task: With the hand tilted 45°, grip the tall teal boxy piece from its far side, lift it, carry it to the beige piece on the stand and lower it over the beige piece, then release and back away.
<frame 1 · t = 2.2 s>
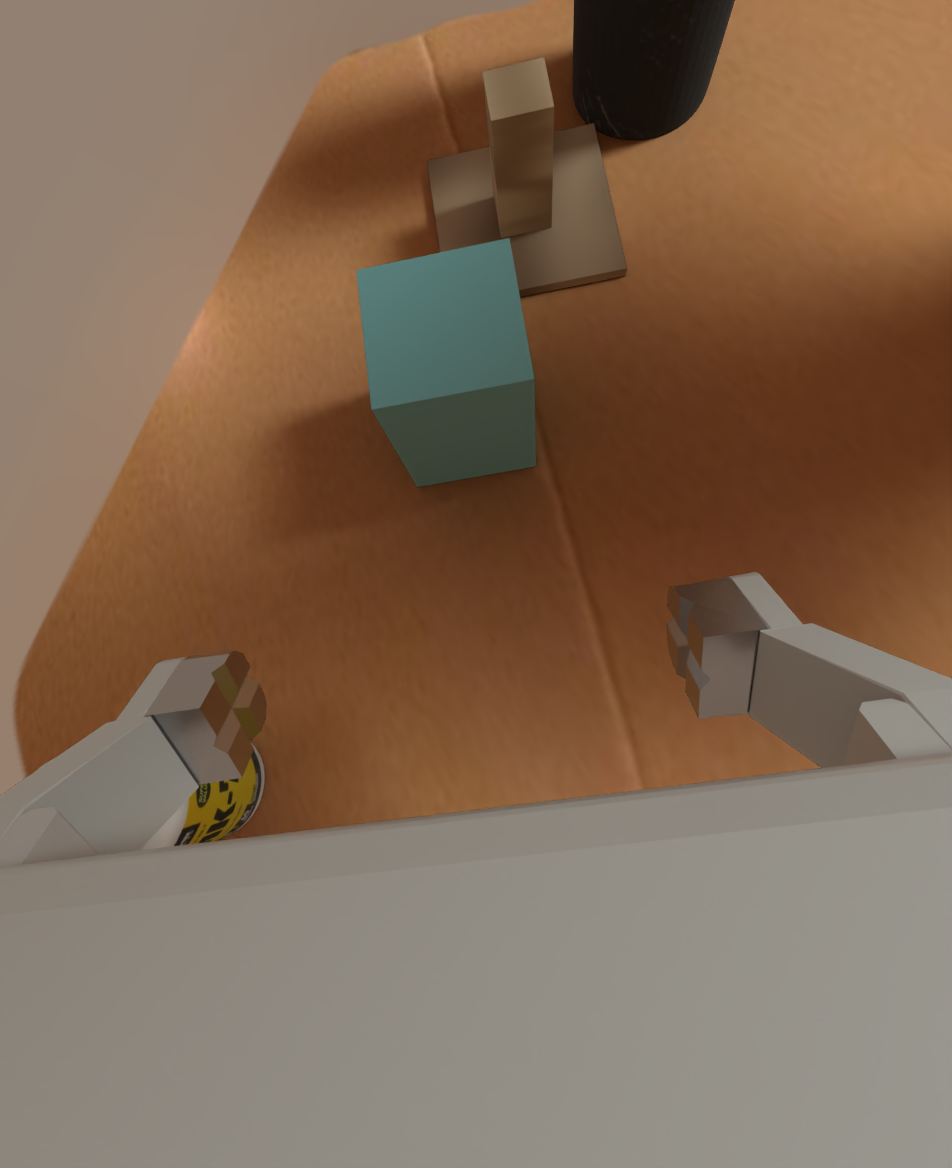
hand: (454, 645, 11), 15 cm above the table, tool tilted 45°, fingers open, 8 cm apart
travel mug: (638, 90, 30), on the table
beige piece: (522, 220, 29), on the table
teal boxy piece: (468, 422, 27), on the table
supplement bottle: (221, 780, 26), on the table
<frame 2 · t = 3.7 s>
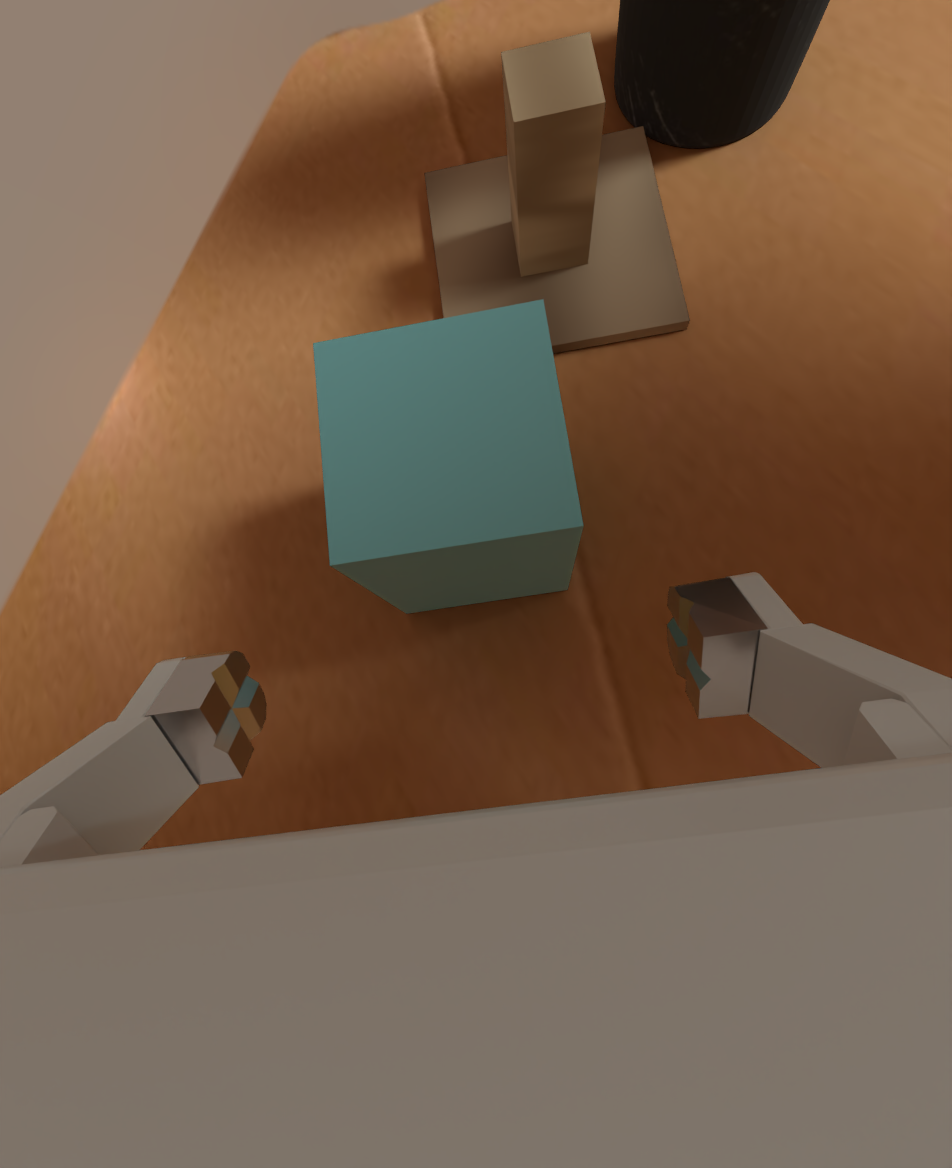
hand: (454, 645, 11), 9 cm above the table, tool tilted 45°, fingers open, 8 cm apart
travel mug: (699, 84, 23), on the table
beige piece: (548, 252, 22), on the table
teal boxy piece: (475, 524, 20), on the table
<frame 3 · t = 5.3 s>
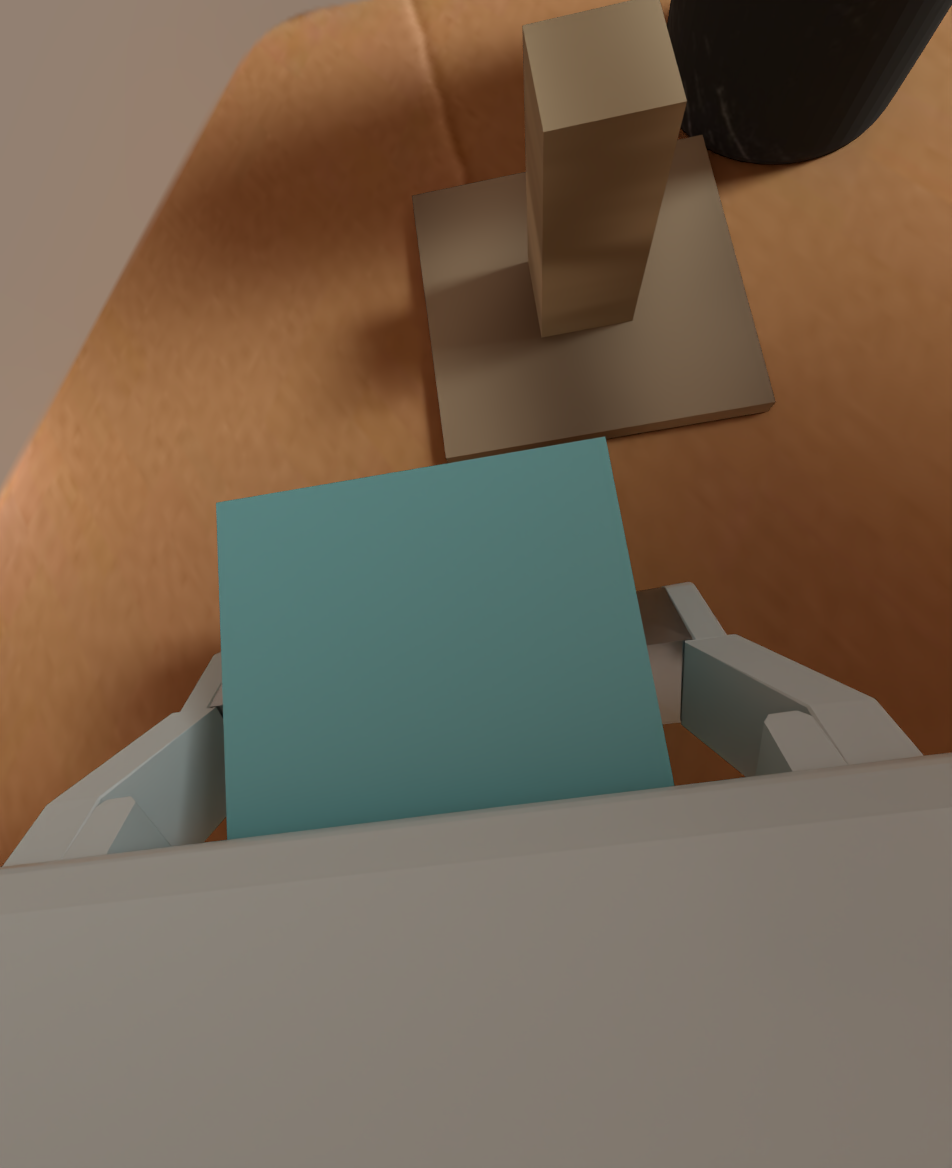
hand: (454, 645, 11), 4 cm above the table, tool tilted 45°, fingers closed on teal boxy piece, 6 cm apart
travel mug: (772, 79, 18), on the table
beige piece: (577, 302, 17), on the table
teal boxy piece: (482, 684, 15), on the table, touching gripper
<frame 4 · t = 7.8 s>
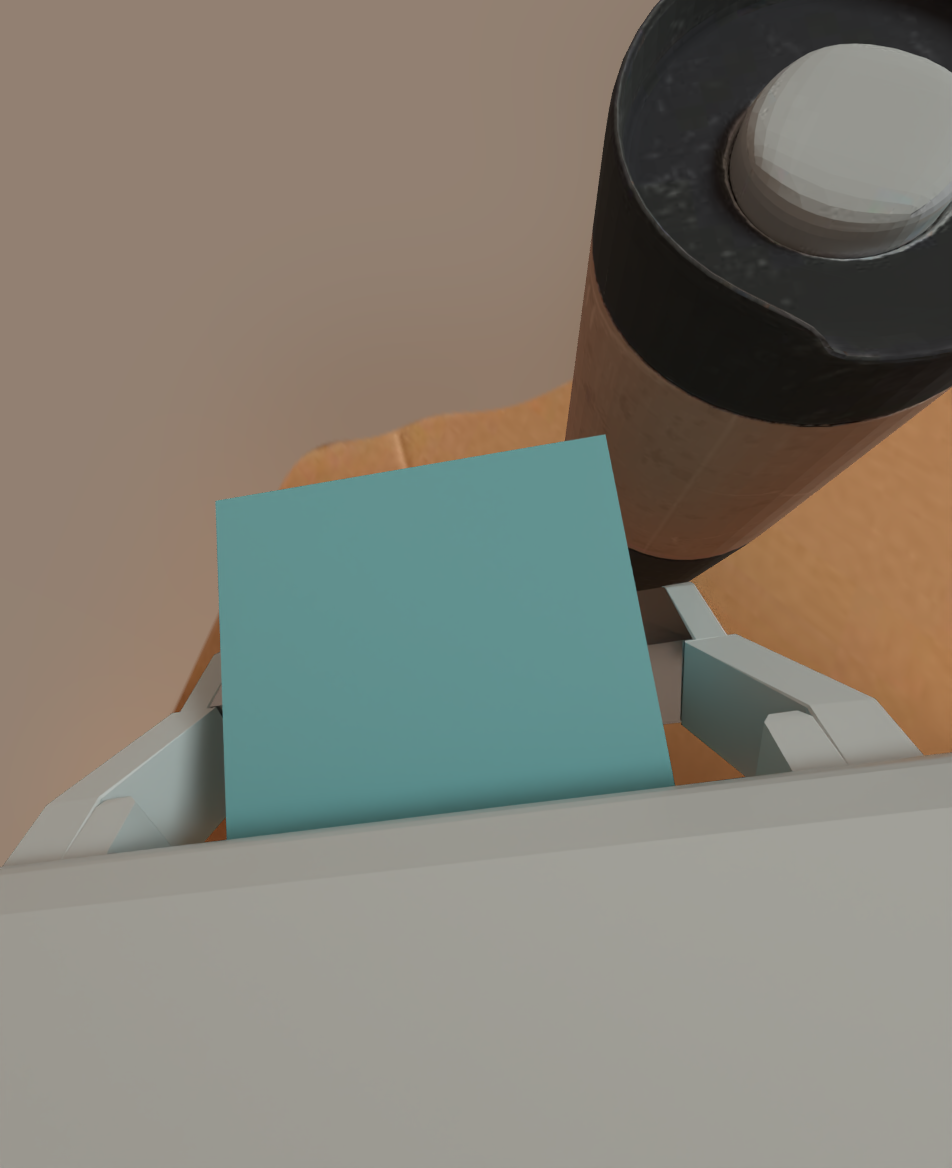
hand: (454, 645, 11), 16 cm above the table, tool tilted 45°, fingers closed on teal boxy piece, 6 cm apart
travel mug: (634, 528, 27), on the table
teal boxy piece: (481, 683, 15), point 12 cm above the table, touching gripper
when the fingers open (6 cm above the table, at t = 10.2 s): teal boxy piece drops 1 cm, resting on beige piece.
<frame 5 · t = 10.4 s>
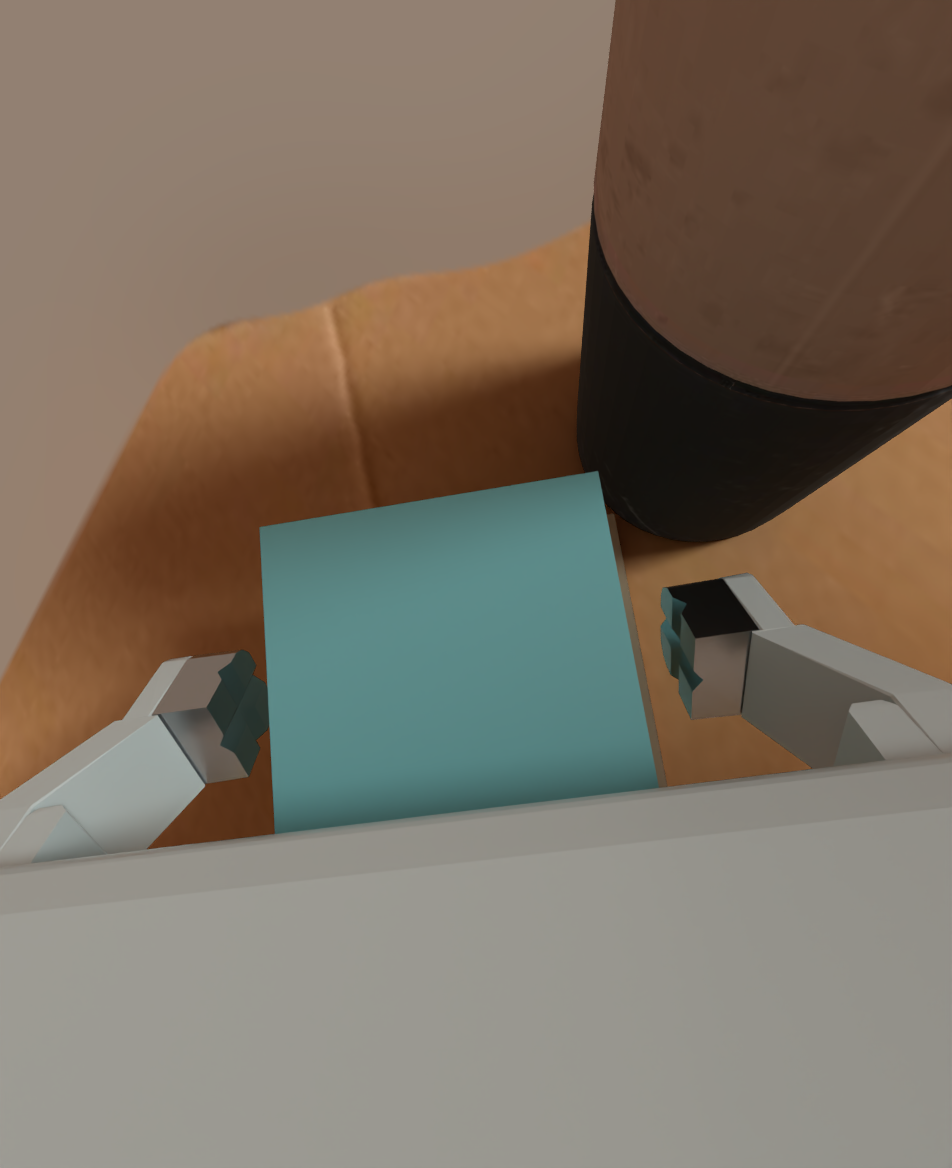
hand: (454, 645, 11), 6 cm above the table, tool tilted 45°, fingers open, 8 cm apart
travel mug: (689, 437, 18), on the table
beige piece: (486, 686, 17), on the table
teal boxy piece: (487, 685, 16), resting on beige piece
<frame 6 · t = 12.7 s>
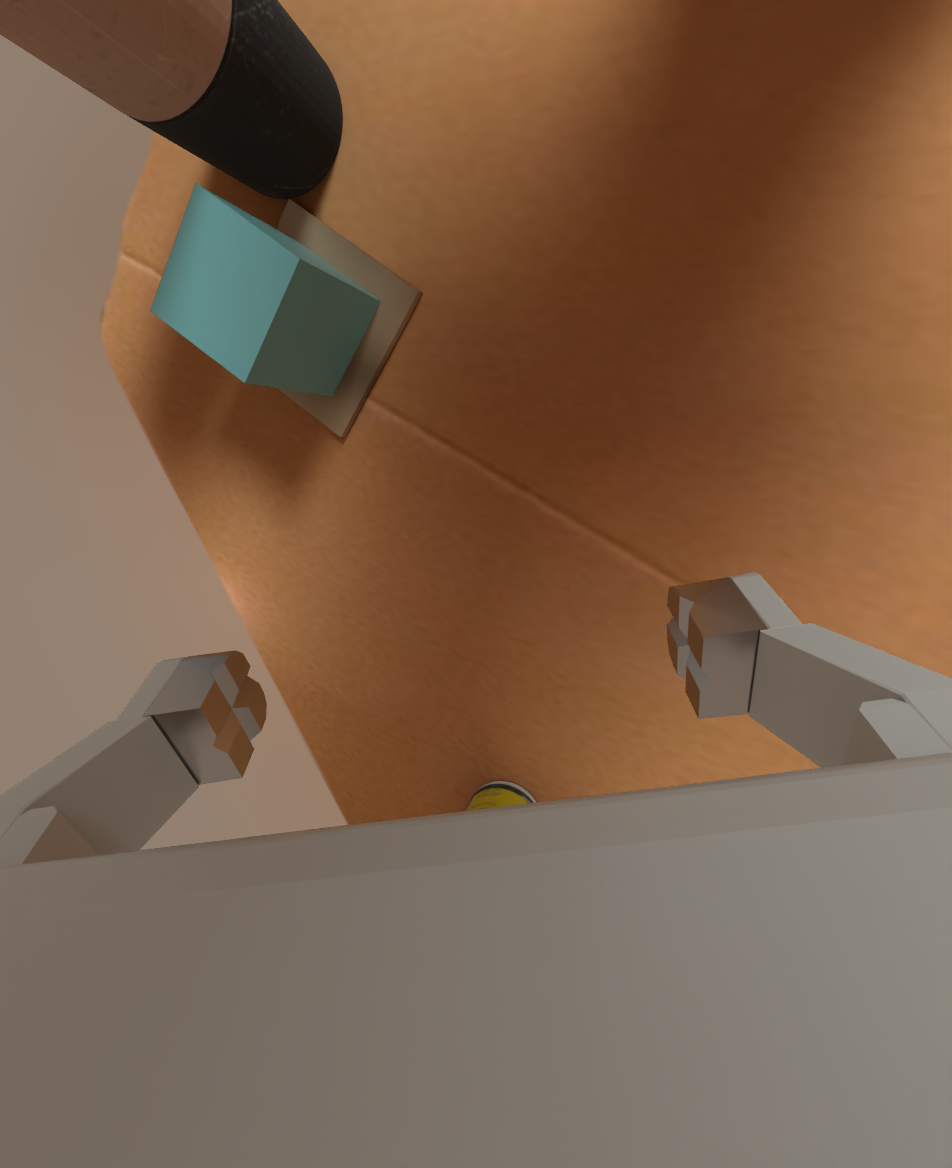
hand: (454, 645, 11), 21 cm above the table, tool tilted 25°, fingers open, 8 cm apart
travel mug: (286, 126, 30), on the table
beige piece: (320, 324, 32), on the table
teal boxy piece: (316, 321, 31), resting on beige piece
supplement bottle: (507, 809, 36), on the table
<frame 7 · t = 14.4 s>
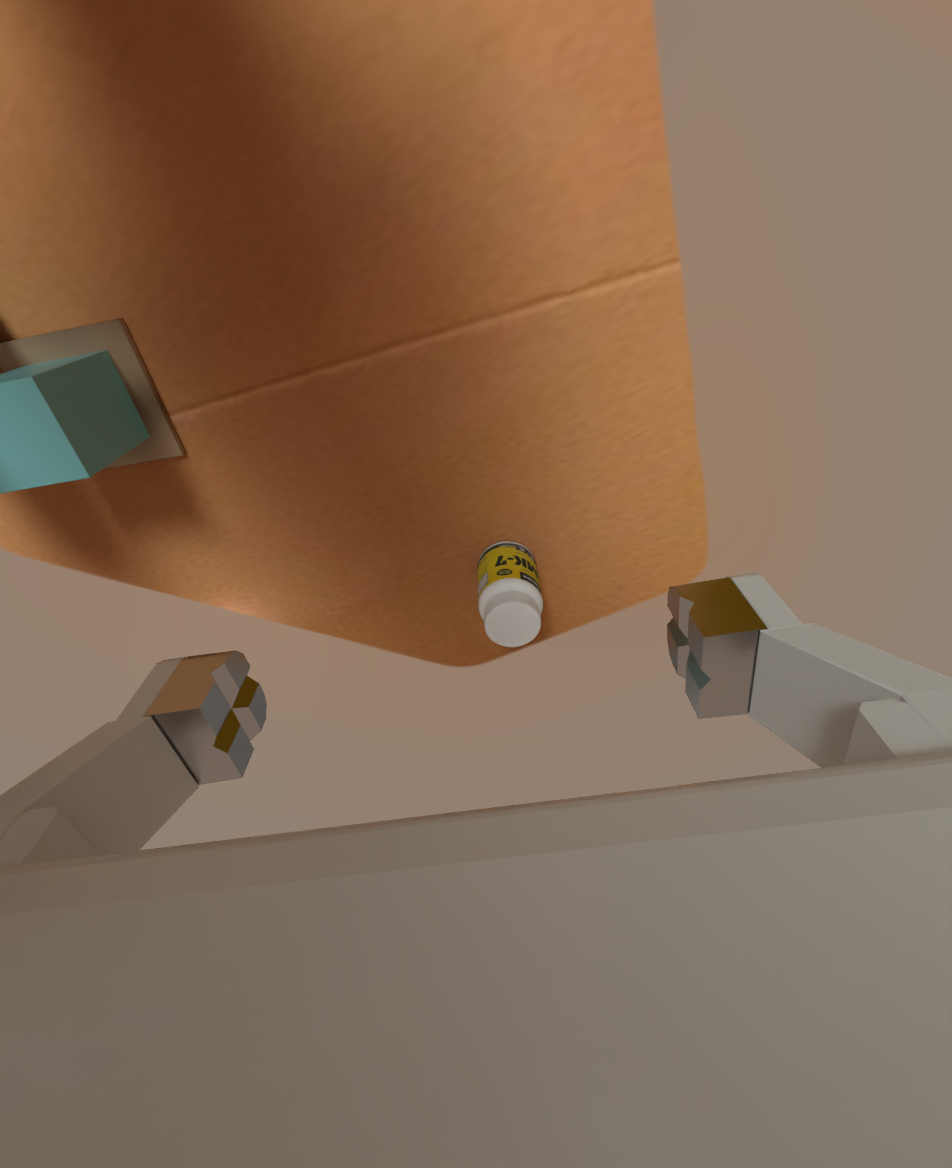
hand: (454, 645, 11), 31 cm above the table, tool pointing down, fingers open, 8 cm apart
beige piece: (94, 401, 38), on the table
teal boxy piece: (89, 402, 38), resting on beige piece
supplement bottle: (505, 563, 46), on the table
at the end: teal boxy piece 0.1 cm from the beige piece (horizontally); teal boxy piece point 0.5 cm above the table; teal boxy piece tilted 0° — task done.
